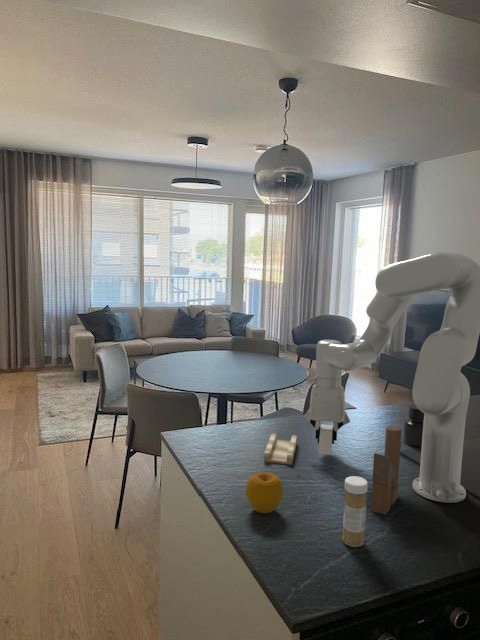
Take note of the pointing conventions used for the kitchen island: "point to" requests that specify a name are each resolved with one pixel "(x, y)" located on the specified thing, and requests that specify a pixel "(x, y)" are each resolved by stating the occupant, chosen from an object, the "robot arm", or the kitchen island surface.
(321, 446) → the strip
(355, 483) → the sprinkles bottle
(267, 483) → the apple
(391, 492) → the stepped wooden upright
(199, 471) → the kitchen island surface
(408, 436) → the ink bottle
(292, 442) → the rack
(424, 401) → the robot arm
